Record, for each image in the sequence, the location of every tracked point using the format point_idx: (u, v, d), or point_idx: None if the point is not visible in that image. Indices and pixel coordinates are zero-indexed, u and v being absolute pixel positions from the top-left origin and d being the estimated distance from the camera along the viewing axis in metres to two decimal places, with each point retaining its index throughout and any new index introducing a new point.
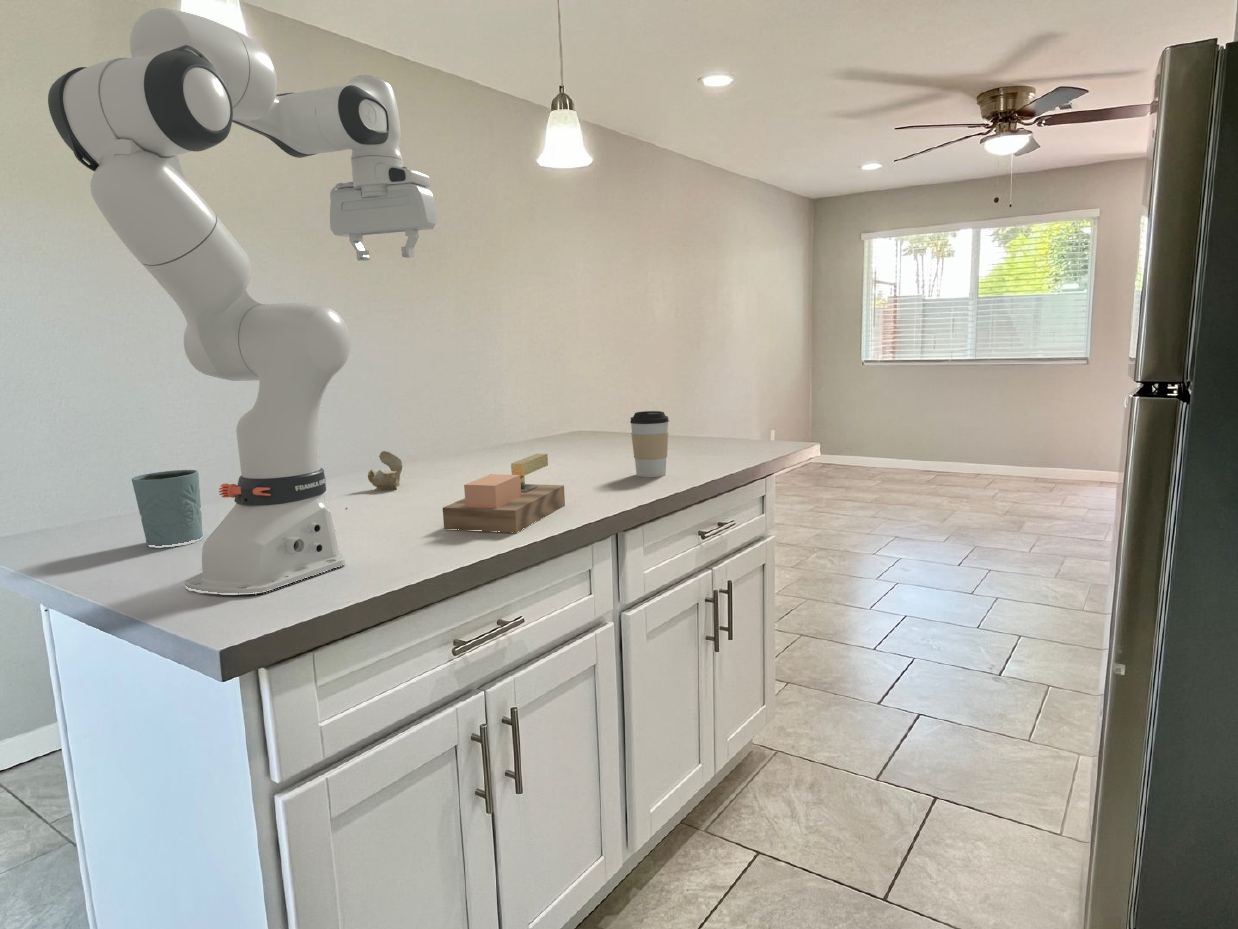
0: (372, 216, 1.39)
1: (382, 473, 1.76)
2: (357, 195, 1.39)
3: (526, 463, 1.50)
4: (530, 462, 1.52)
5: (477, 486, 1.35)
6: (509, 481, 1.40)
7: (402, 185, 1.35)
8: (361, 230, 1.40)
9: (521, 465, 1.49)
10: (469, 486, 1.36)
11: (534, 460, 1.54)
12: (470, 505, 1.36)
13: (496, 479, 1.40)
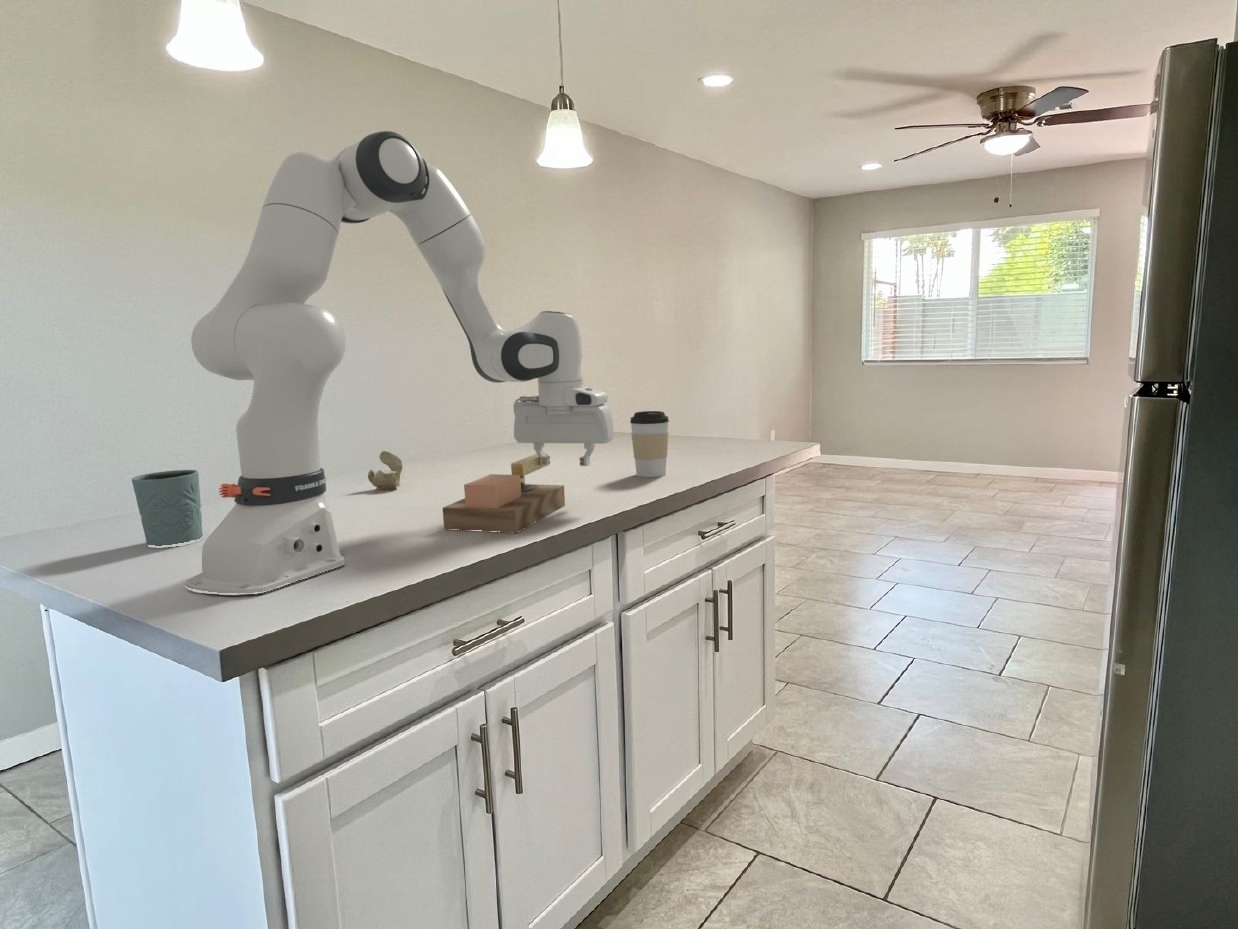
0: (555, 430, 1.53)
1: (382, 473, 1.76)
2: (542, 411, 1.53)
3: (526, 463, 1.50)
4: (530, 462, 1.52)
5: (477, 486, 1.35)
6: (509, 481, 1.40)
7: (587, 407, 1.49)
8: (544, 441, 1.54)
9: (521, 465, 1.49)
10: (469, 486, 1.36)
11: (534, 460, 1.54)
12: (470, 505, 1.36)
13: (496, 479, 1.40)
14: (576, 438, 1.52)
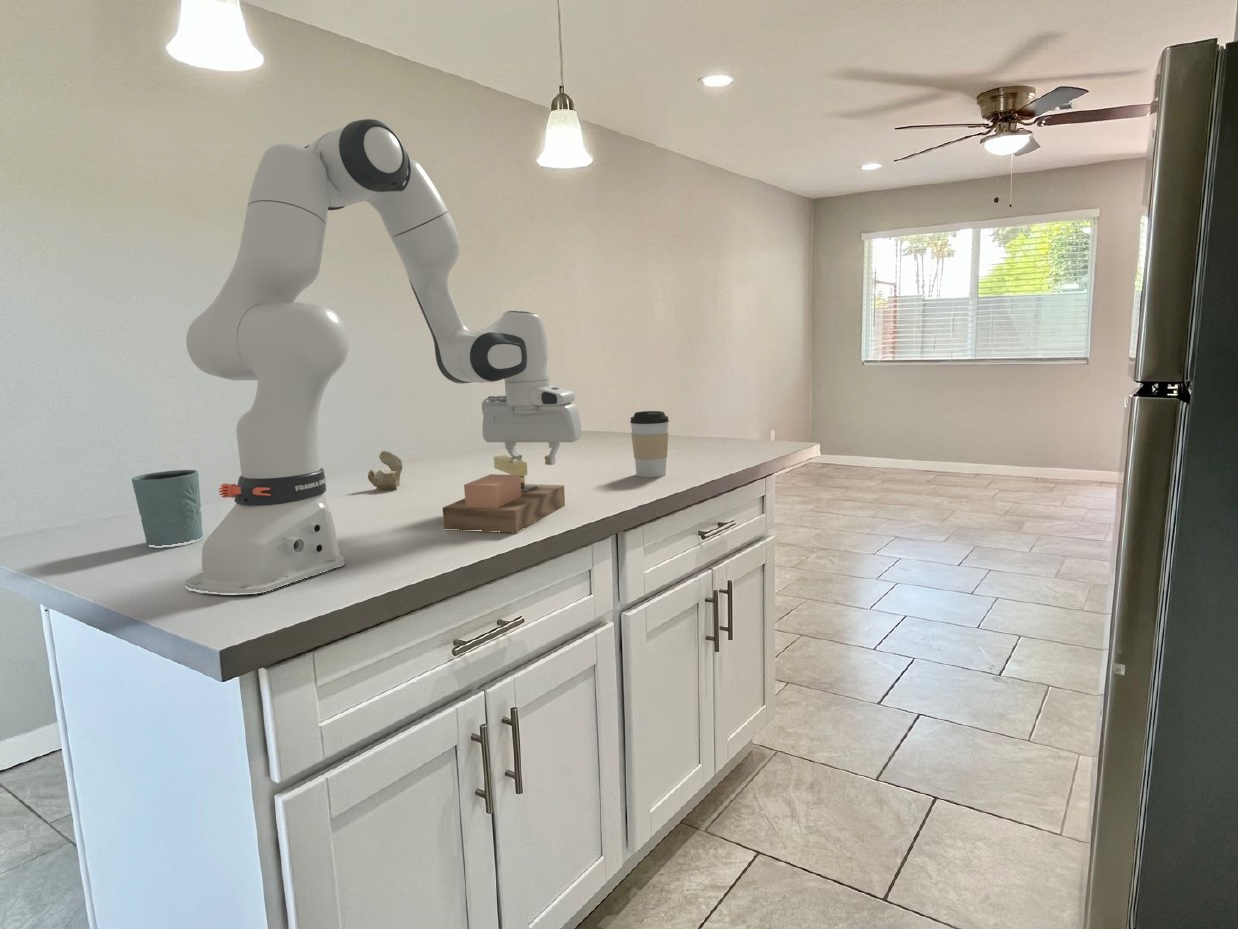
0: (523, 430, 1.53)
1: (382, 473, 1.76)
2: (509, 410, 1.54)
3: None
4: None
5: (477, 486, 1.35)
6: (509, 481, 1.40)
7: (553, 407, 1.49)
8: (512, 440, 1.55)
9: (525, 464, 1.50)
10: (469, 486, 1.36)
11: None
12: (470, 505, 1.36)
13: (496, 479, 1.40)
14: (543, 437, 1.52)
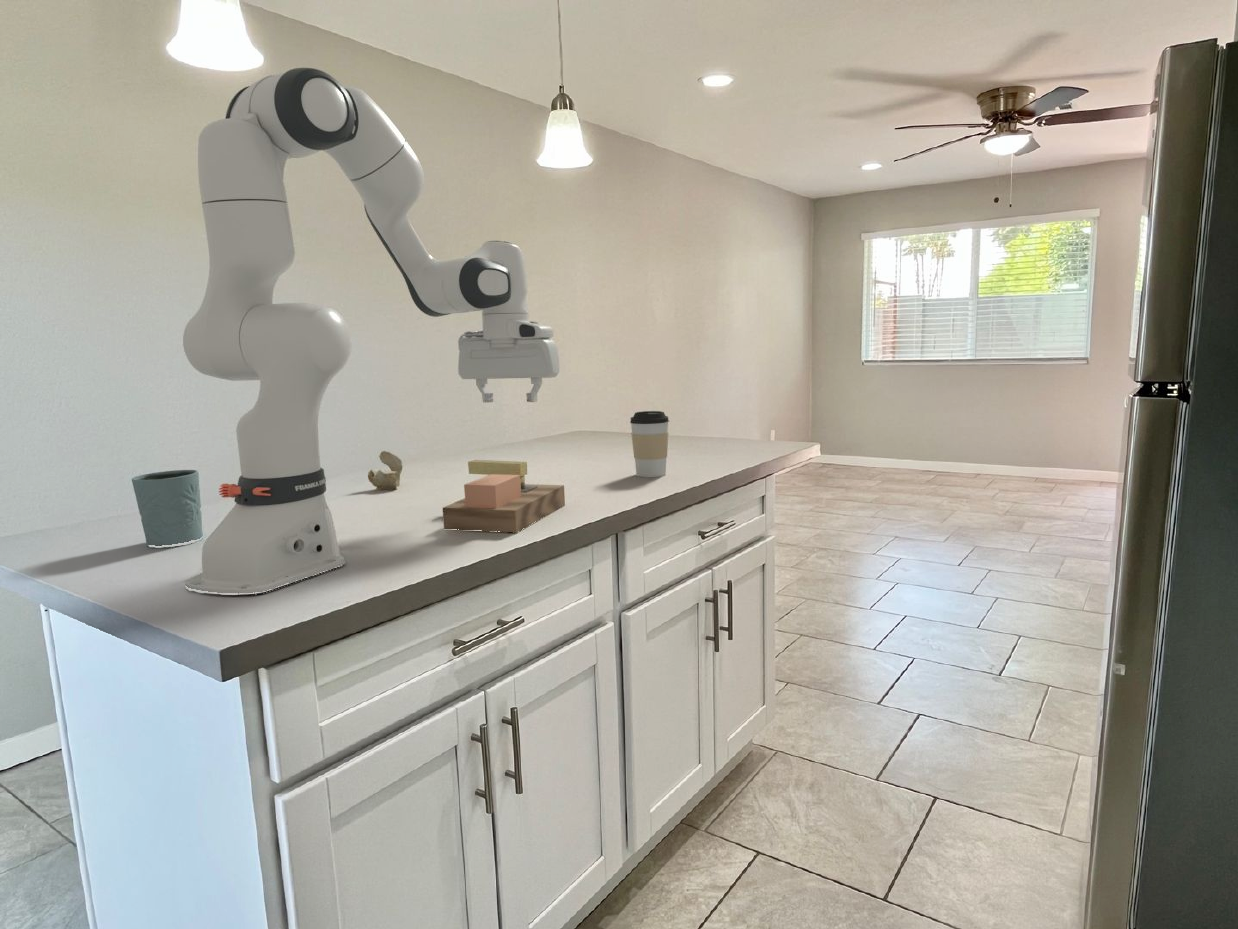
0: (500, 365, 1.49)
1: (382, 473, 1.76)
2: (486, 345, 1.50)
3: None
4: None
5: (477, 486, 1.35)
6: (509, 481, 1.40)
7: (531, 340, 1.46)
8: (488, 376, 1.51)
9: (526, 463, 1.50)
10: (469, 486, 1.36)
11: None
12: (470, 505, 1.36)
13: (496, 479, 1.40)
14: (520, 372, 1.48)
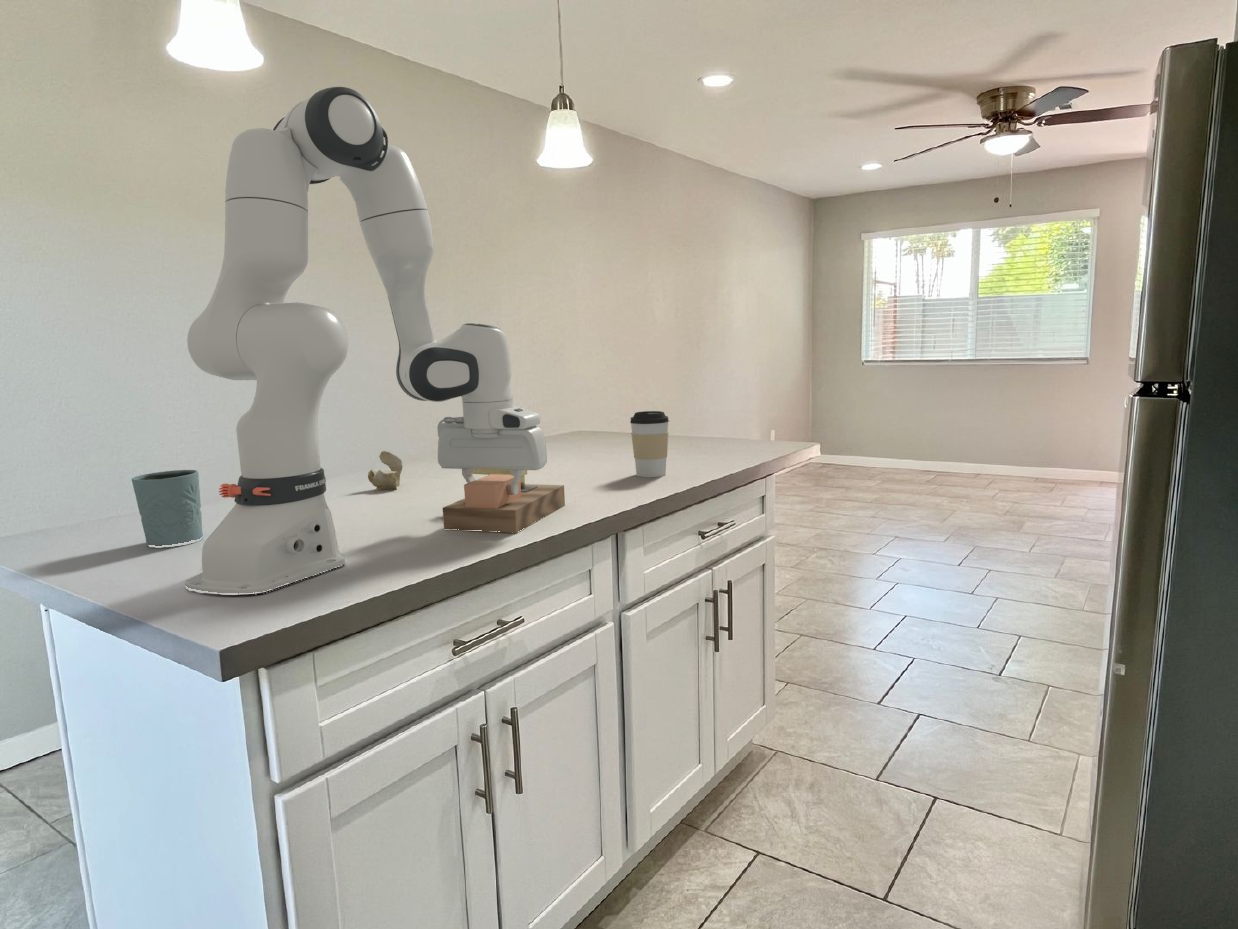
0: (482, 455, 1.38)
1: (382, 473, 1.76)
2: (467, 434, 1.38)
3: None
4: None
5: (477, 486, 1.35)
6: (509, 481, 1.40)
7: (516, 431, 1.34)
8: (470, 467, 1.39)
9: None
10: (469, 486, 1.36)
11: None
12: (470, 505, 1.36)
13: (496, 479, 1.40)
14: (505, 464, 1.37)
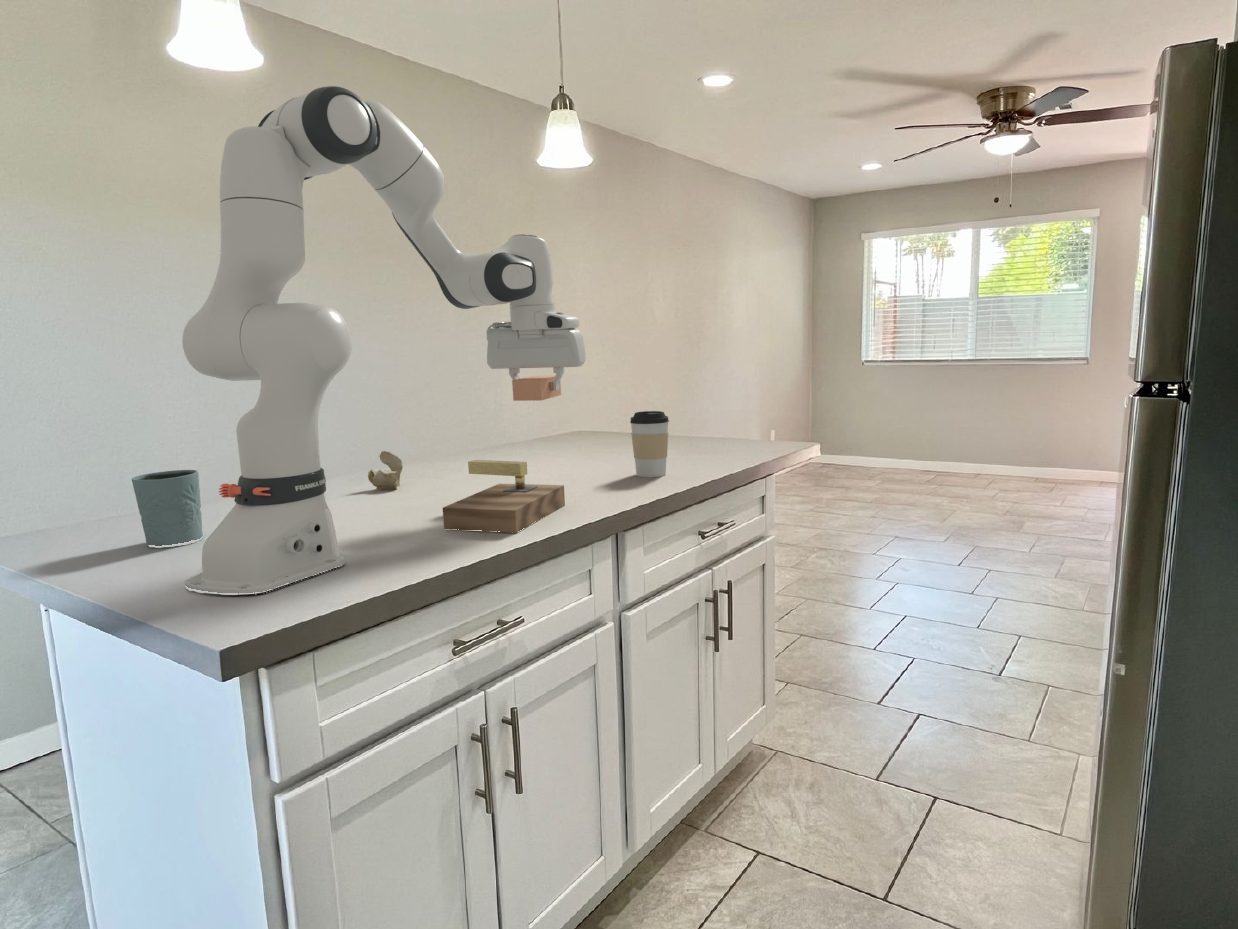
0: (528, 355, 1.55)
1: (382, 473, 1.76)
2: (514, 336, 1.55)
3: None
4: None
5: (524, 381, 1.52)
6: (551, 379, 1.57)
7: (558, 331, 1.51)
8: (516, 366, 1.56)
9: (526, 463, 1.50)
10: (517, 381, 1.53)
11: None
12: (517, 398, 1.53)
13: (539, 377, 1.57)
14: (548, 362, 1.53)
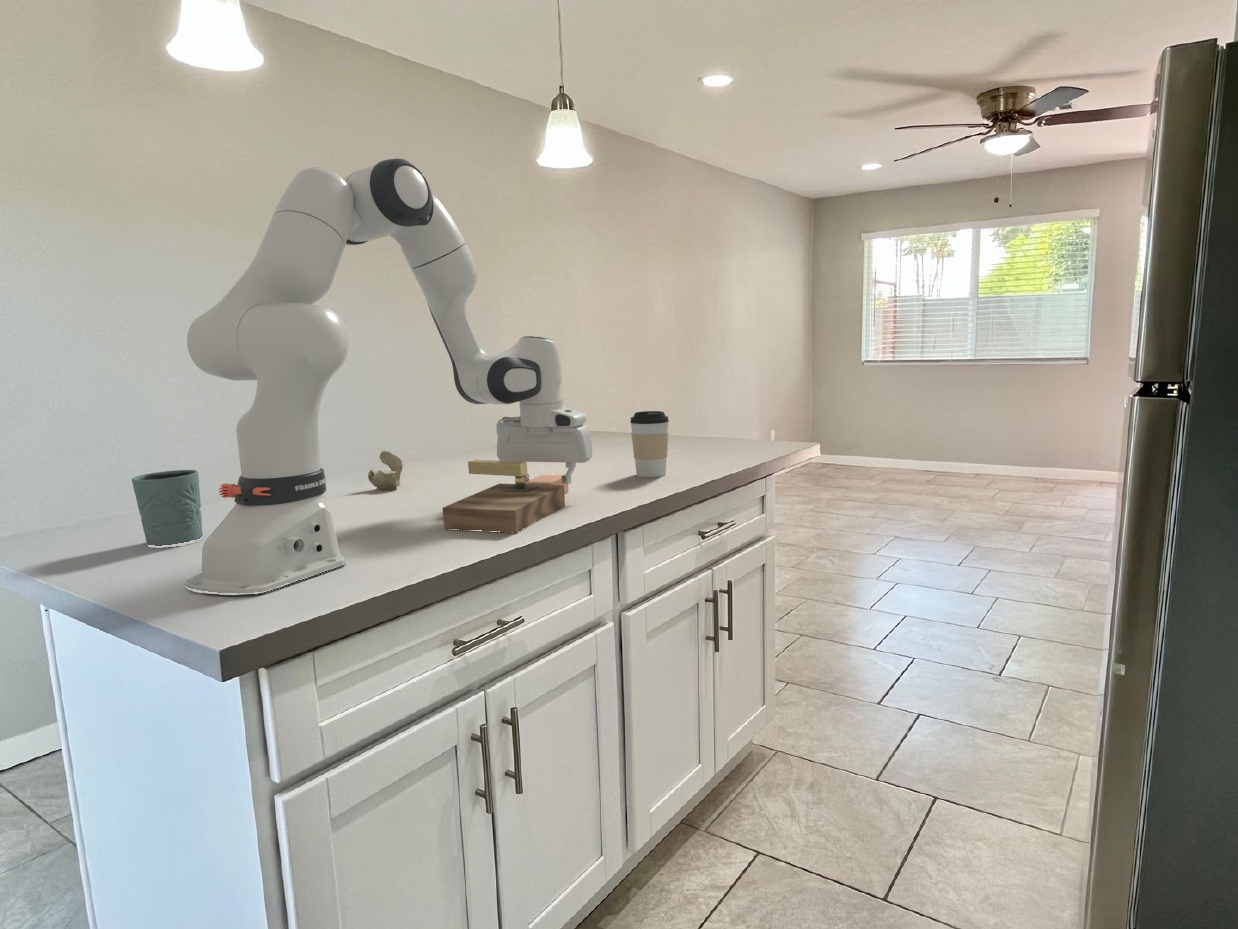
0: (536, 450, 1.60)
1: (382, 473, 1.76)
2: (523, 431, 1.60)
3: None
4: None
5: None
6: (560, 481, 1.62)
7: (566, 428, 1.56)
8: (525, 460, 1.61)
9: (526, 463, 1.50)
10: None
11: None
12: None
13: (548, 479, 1.62)
14: (556, 457, 1.58)
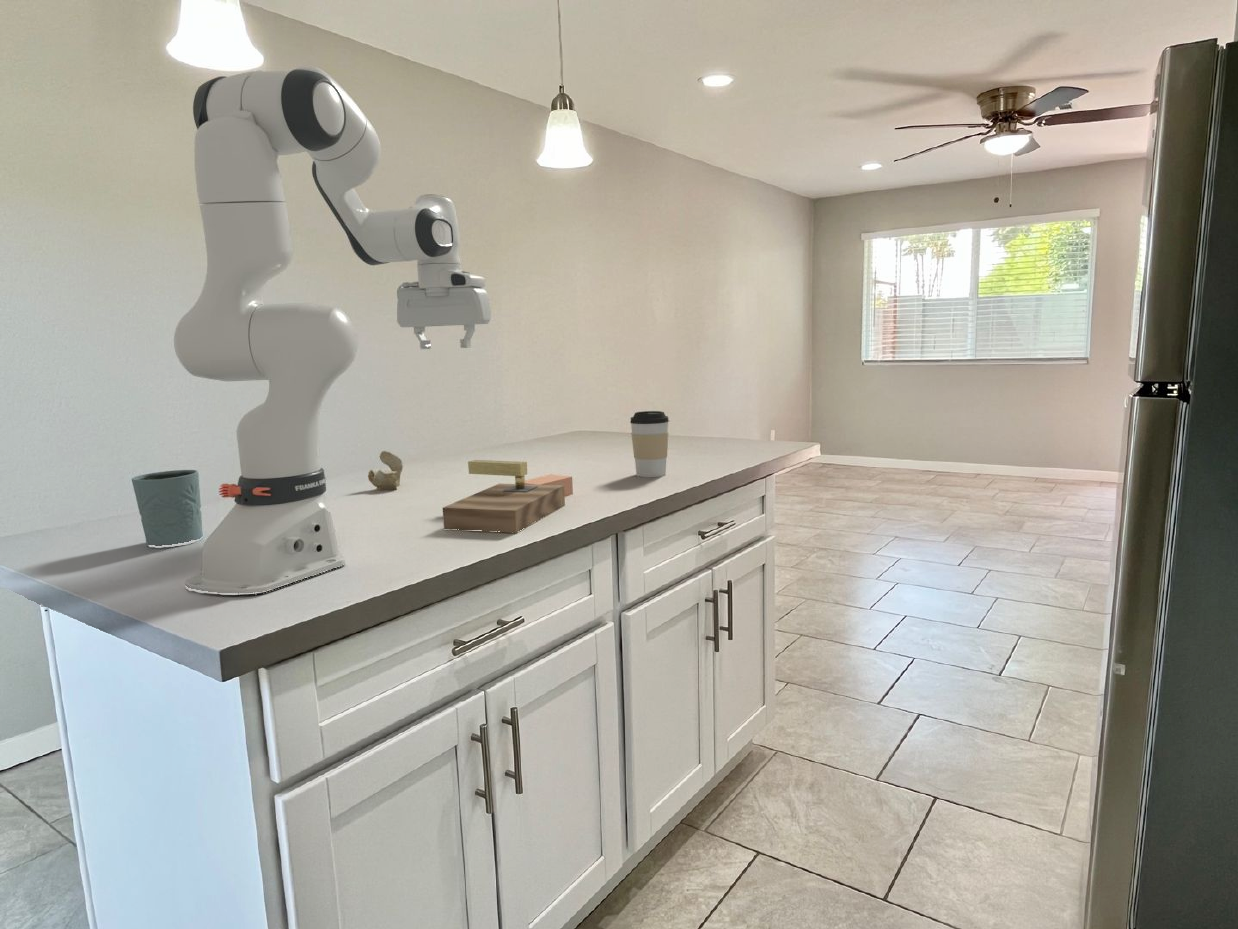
0: (435, 313, 1.59)
1: (382, 473, 1.76)
2: (422, 294, 1.59)
3: None
4: None
5: None
6: (558, 482, 1.61)
7: (462, 288, 1.55)
8: (424, 324, 1.60)
9: (526, 463, 1.50)
10: None
11: None
12: None
13: (548, 479, 1.62)
14: (454, 319, 1.58)
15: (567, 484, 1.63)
